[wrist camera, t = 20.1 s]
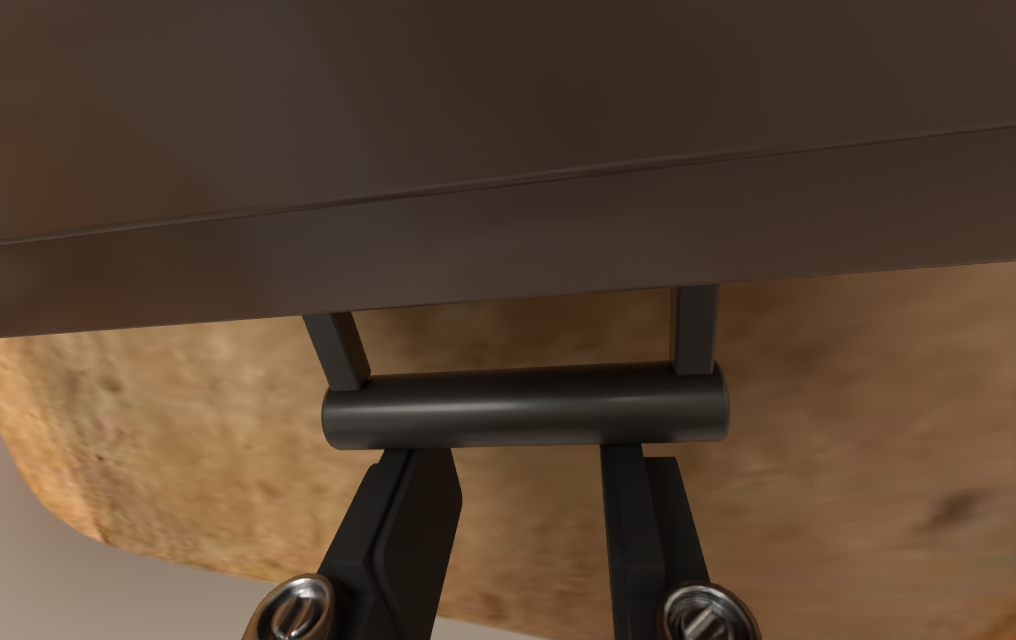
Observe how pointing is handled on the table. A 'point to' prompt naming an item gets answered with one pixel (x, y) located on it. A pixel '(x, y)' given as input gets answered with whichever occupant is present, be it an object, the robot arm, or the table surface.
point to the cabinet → (454, 96)
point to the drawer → (536, 278)
